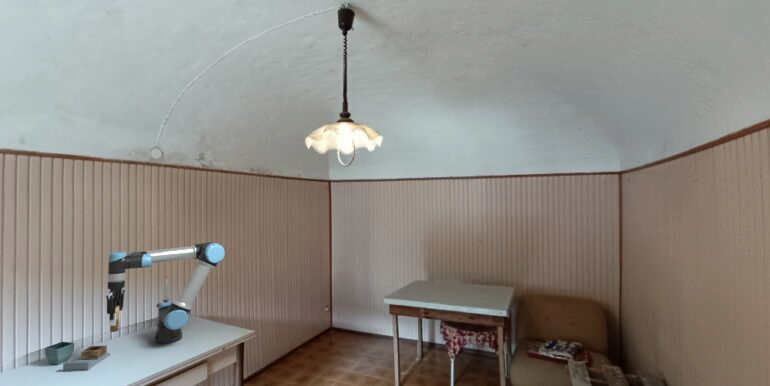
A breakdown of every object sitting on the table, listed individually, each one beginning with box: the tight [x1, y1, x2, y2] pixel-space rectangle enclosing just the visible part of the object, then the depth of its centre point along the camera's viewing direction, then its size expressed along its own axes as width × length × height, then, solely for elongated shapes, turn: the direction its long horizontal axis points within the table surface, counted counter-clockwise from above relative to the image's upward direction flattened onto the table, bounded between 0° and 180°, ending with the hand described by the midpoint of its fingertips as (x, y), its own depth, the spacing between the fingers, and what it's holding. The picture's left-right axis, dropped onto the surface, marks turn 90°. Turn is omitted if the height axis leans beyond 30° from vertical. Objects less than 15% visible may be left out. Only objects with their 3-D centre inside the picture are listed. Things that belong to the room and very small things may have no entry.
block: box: [80, 345, 108, 360], centre depth 194 cm, size 8×8×4 cm
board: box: [62, 352, 111, 373], centre depth 189 cm, size 11×19×4 cm, turn 9°
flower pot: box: [44, 341, 76, 365], centre depth 189 cm, size 9×9×9 cm
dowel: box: [109, 306, 120, 333], centre depth 195 cm, size 4×4×13 cm
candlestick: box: [156, 274, 169, 327], centre depth 250 cm, size 11×11×35 cm
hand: (114, 324), depth 195 cm, fingers closed on dowel, 3 cm apart
